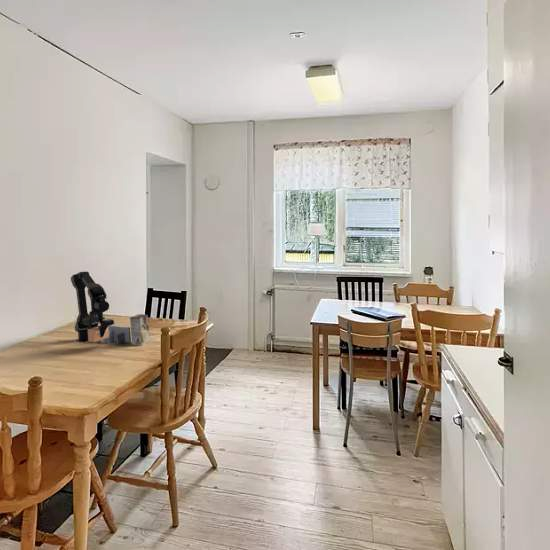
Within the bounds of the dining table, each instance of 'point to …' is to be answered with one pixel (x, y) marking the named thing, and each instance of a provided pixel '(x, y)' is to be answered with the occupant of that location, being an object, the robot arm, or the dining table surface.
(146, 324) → the coffee box
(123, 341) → the bookend
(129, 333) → the shelf
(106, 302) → the robot arm
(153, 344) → the dining table surface
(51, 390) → the dining table surface
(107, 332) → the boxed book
